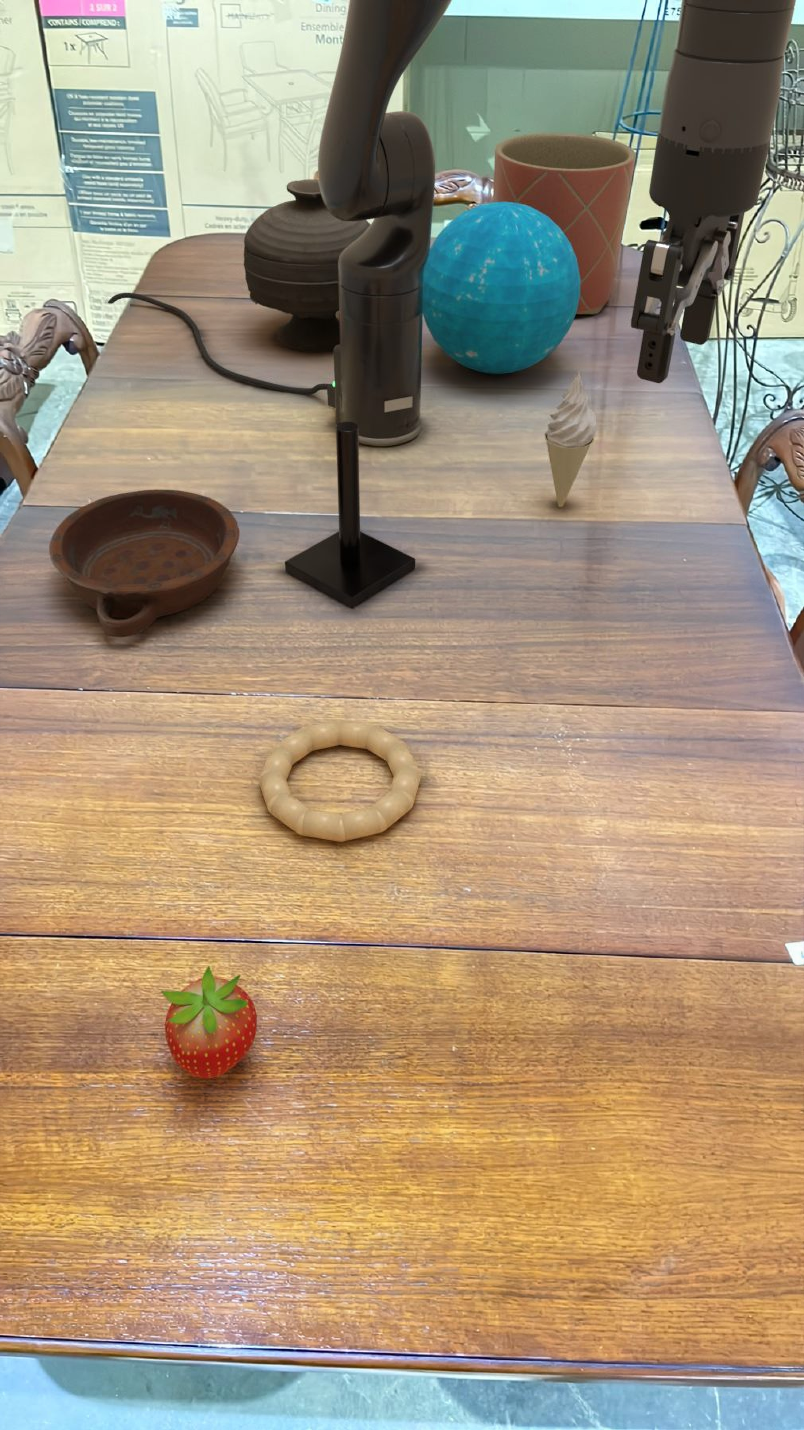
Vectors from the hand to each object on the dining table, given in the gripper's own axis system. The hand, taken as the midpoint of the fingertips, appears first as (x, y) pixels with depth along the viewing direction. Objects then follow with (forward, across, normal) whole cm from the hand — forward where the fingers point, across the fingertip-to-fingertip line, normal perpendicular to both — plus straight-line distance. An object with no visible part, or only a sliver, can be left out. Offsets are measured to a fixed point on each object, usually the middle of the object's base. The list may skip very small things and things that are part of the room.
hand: (673, 360), depth 84 cm
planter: (+25, -68, -42) cm, 83 cm away
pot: (+25, -36, -62) cm, 76 cm away
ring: (+24, +33, -9) cm, 41 cm away
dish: (+25, +20, -41) cm, 52 cm away
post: (+25, +8, -26) cm, 36 cm away
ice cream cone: (+25, -14, -14) cm, 32 cm away
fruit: (+25, +56, -2) cm, 61 cm away
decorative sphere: (+25, -41, -37) cm, 61 cm away
